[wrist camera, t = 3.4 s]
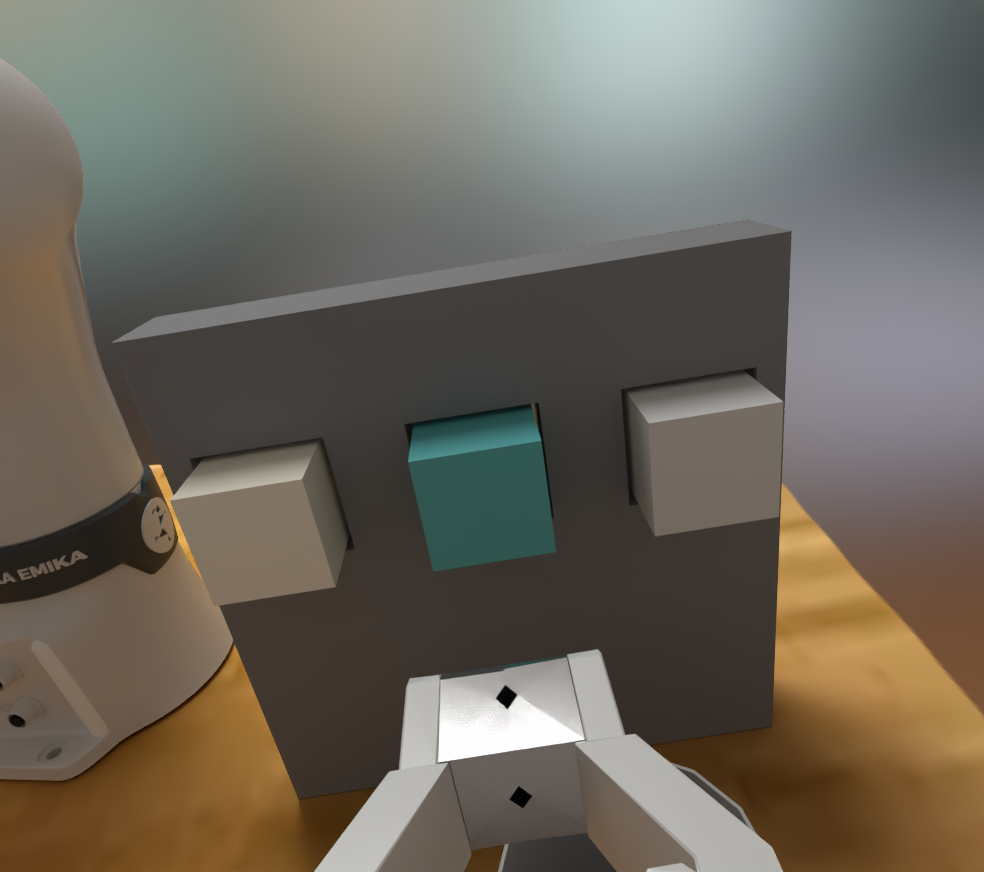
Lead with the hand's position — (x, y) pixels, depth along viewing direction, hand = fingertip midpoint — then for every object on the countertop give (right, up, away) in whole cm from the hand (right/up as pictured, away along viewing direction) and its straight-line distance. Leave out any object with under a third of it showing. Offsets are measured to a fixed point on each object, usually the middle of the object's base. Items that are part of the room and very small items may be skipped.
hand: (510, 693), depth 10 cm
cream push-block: (-9, -1, +19) cm, 21 cm away
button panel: (+2, -13, +27) cm, 30 cm away
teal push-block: (0, 0, +19) cm, 19 cm away
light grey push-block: (+9, +2, +19) cm, 20 cm away
